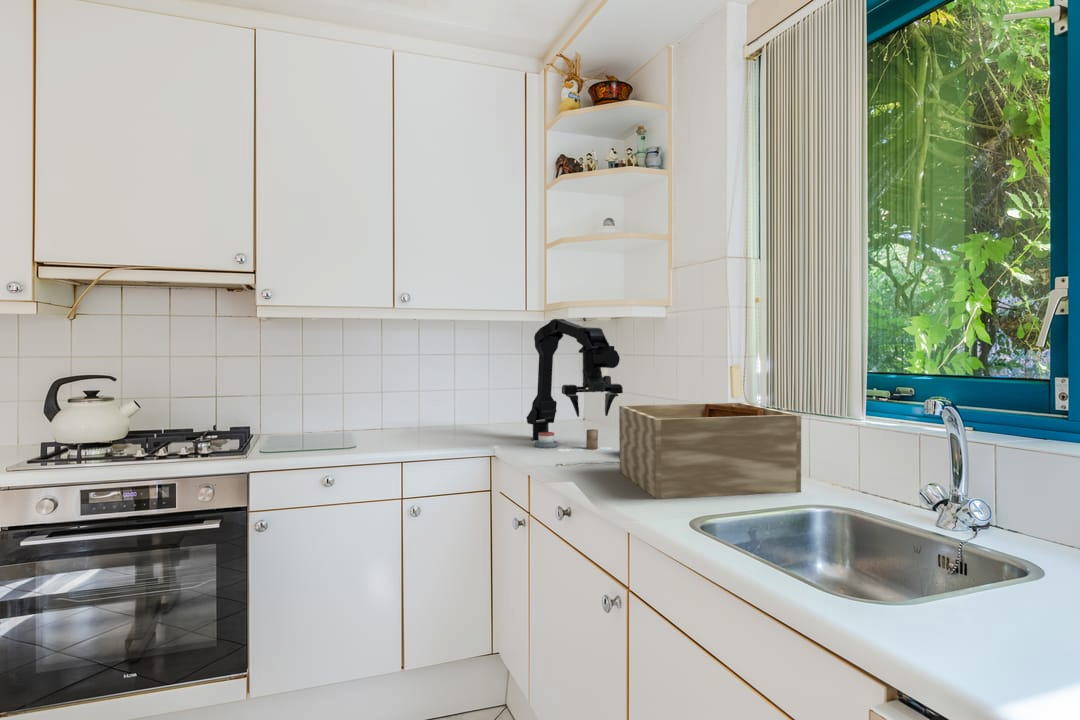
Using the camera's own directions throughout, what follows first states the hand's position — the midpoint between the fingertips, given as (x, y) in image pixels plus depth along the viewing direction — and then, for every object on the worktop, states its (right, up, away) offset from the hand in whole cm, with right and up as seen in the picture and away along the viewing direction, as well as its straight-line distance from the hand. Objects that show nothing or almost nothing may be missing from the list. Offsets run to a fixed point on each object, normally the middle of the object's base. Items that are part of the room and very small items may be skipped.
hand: (592, 416), depth 194 cm
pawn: (0, -11, 0) cm, 11 cm away
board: (-6, -12, +4) cm, 14 cm away
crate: (+25, -13, -39) cm, 48 cm away
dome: (-15, -9, +6) cm, 18 cm away
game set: (+26, -13, -38) cm, 48 cm away
